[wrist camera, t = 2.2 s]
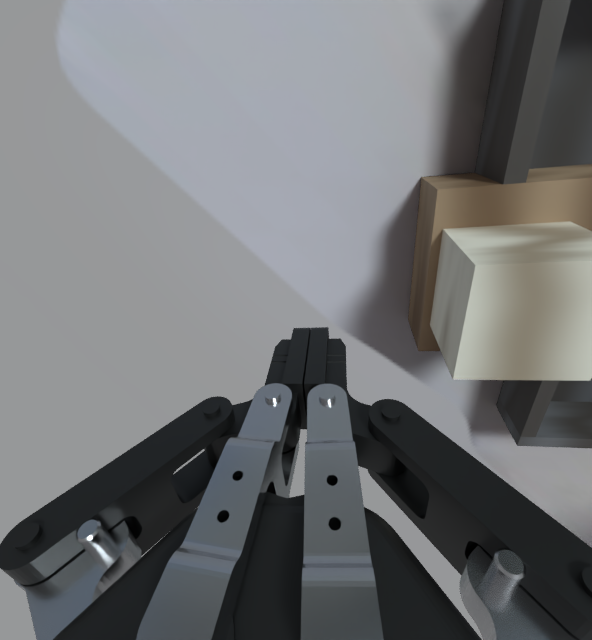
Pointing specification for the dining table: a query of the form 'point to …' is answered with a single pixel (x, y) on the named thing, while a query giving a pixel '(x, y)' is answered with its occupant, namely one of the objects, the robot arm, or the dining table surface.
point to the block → (515, 302)
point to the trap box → (523, 187)
